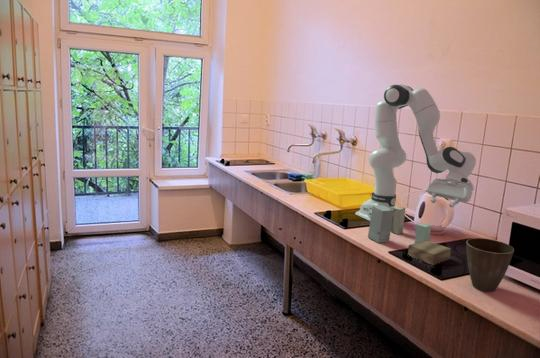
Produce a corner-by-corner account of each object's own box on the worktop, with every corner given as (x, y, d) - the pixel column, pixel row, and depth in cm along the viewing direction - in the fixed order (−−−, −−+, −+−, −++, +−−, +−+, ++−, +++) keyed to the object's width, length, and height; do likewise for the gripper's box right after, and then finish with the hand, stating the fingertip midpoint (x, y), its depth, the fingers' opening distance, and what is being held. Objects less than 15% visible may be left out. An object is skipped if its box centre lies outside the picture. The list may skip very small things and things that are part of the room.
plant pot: (451, 280, 152) (457, 240, 149) (481, 275, 158) (487, 236, 154) (485, 300, 139) (492, 255, 135) (517, 293, 144) (524, 250, 141)
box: (395, 230, 207) (397, 205, 204) (403, 232, 204) (405, 207, 201) (389, 232, 204) (392, 207, 201) (398, 234, 200) (400, 209, 198)
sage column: (414, 243, 190) (416, 224, 188) (420, 241, 193) (422, 222, 191) (423, 246, 187) (425, 227, 185) (429, 244, 189) (431, 225, 187)
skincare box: (367, 237, 195) (370, 205, 192) (379, 236, 198) (382, 204, 195) (378, 243, 188) (381, 210, 184) (391, 242, 190) (394, 209, 187)
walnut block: (407, 256, 175) (408, 245, 174) (424, 250, 182) (425, 239, 181) (432, 266, 166) (434, 254, 165) (449, 259, 173) (451, 248, 172)
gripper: (432, 174, 203) (419, 195, 200) (473, 181, 187) (460, 205, 184) (437, 181, 207) (424, 203, 203) (477, 189, 191) (464, 213, 187)
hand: (441, 204), depth 193 cm, fingers open, 8 cm apart
